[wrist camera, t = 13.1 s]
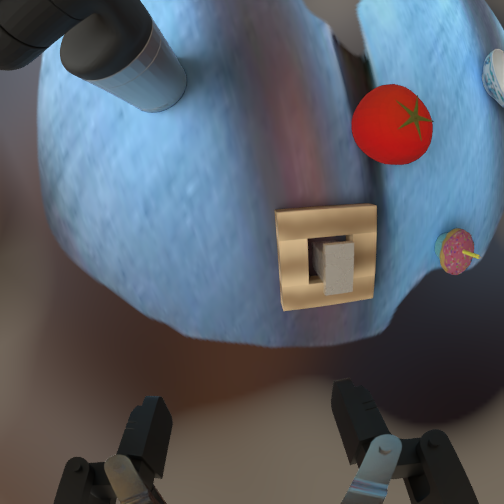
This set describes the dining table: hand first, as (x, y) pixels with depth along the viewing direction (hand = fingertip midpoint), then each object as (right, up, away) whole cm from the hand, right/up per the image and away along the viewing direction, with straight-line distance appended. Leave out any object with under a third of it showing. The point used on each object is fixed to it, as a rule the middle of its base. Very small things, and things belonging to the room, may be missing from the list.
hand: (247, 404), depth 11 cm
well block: (+12, +7, +30) cm, 33 cm away
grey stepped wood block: (+11, +7, +31) cm, 33 cm away
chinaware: (+54, +45, +21) cm, 73 cm away
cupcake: (+37, +8, +31) cm, 49 cm away
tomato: (+19, +26, +25) cm, 41 cm away
